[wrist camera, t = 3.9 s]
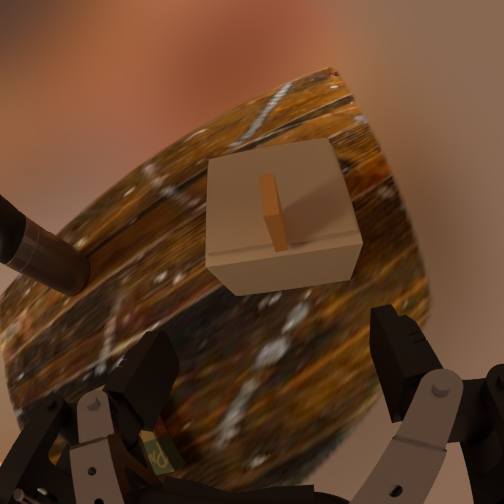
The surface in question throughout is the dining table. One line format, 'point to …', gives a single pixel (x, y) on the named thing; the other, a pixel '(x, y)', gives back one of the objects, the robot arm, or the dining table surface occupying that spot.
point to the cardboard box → (288, 263)
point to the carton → (161, 449)
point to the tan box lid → (276, 198)
